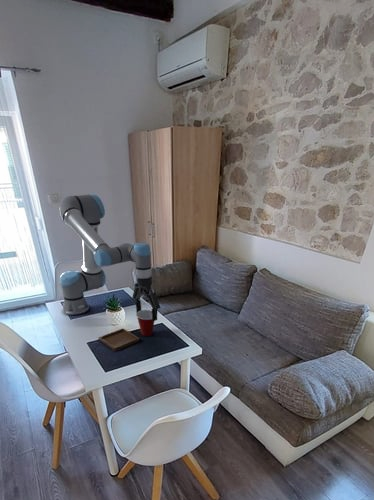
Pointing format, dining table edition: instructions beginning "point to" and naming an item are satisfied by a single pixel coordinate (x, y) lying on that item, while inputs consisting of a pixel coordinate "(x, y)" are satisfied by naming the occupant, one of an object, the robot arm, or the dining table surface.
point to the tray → (119, 339)
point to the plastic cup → (145, 322)
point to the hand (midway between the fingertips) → (146, 316)
